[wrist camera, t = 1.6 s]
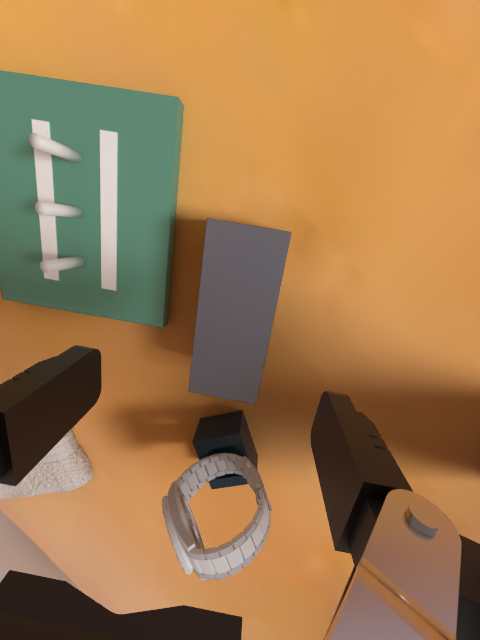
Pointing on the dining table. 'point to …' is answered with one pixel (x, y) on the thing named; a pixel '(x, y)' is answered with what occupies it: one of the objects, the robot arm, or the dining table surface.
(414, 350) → the dining table surface
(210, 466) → the watch
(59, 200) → the board
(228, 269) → the grey rectangular block
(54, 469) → the washcloth
